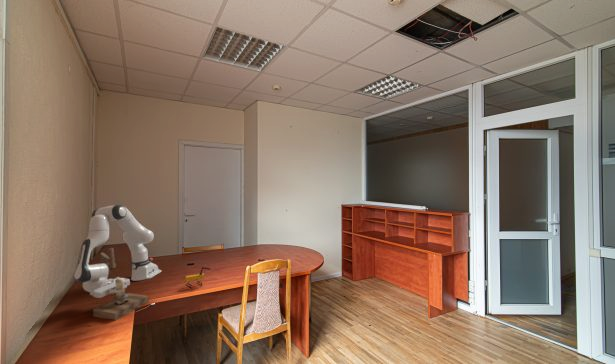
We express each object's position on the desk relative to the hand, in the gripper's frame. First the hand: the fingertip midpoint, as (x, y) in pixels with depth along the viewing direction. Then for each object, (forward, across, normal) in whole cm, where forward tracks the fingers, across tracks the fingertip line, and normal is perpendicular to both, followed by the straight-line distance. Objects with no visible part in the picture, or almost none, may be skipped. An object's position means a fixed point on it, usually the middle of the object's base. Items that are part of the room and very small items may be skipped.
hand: (121, 289), depth 170 cm
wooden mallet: (-84, +52, +13) cm, 100 cm away
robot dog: (+24, +39, +13) cm, 48 cm away
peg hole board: (-1, 0, +13) cm, 13 cm away
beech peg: (-1, 0, +8) cm, 9 cm away
